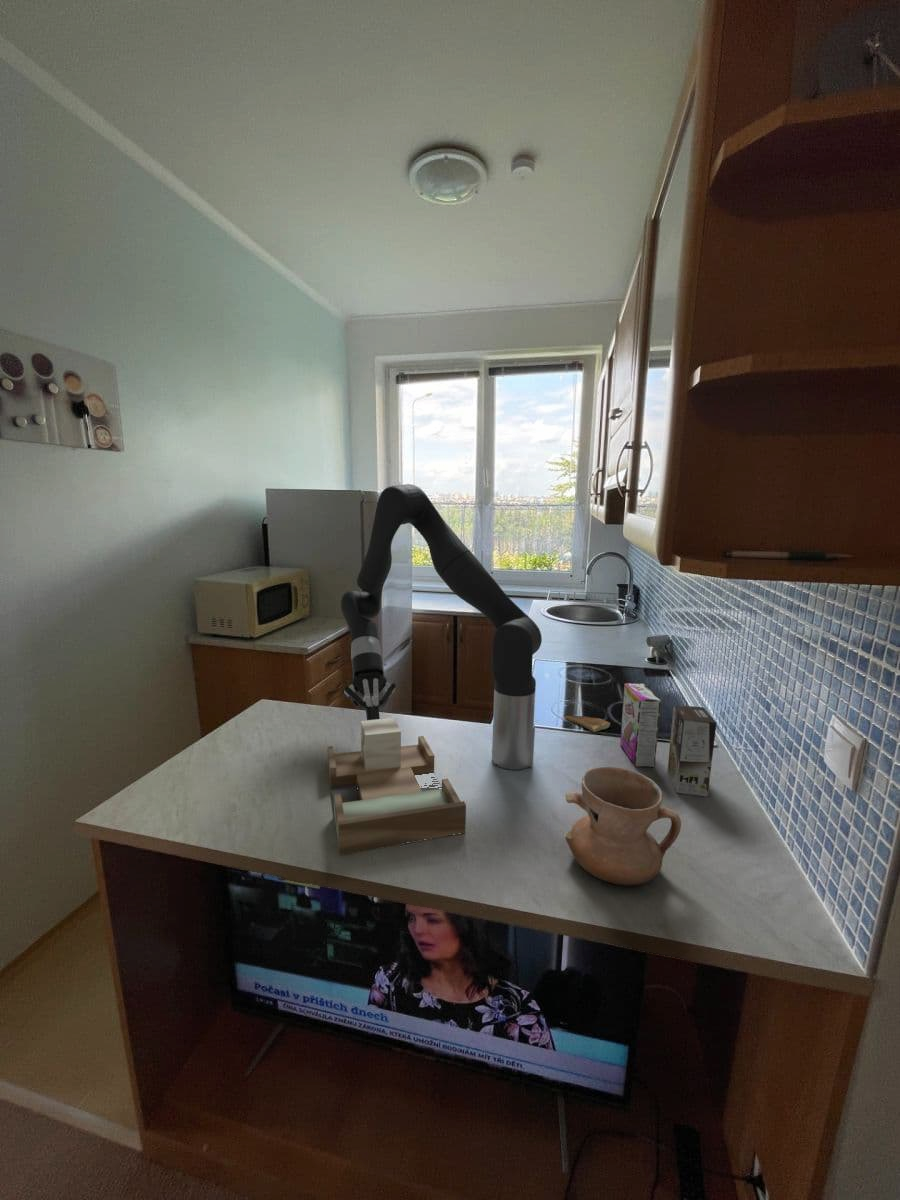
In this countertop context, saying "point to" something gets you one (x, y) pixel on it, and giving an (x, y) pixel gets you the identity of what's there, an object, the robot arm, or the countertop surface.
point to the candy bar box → (640, 724)
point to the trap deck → (391, 801)
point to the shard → (589, 722)
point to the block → (380, 744)
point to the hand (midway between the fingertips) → (373, 723)
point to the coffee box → (691, 750)
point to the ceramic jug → (620, 826)
